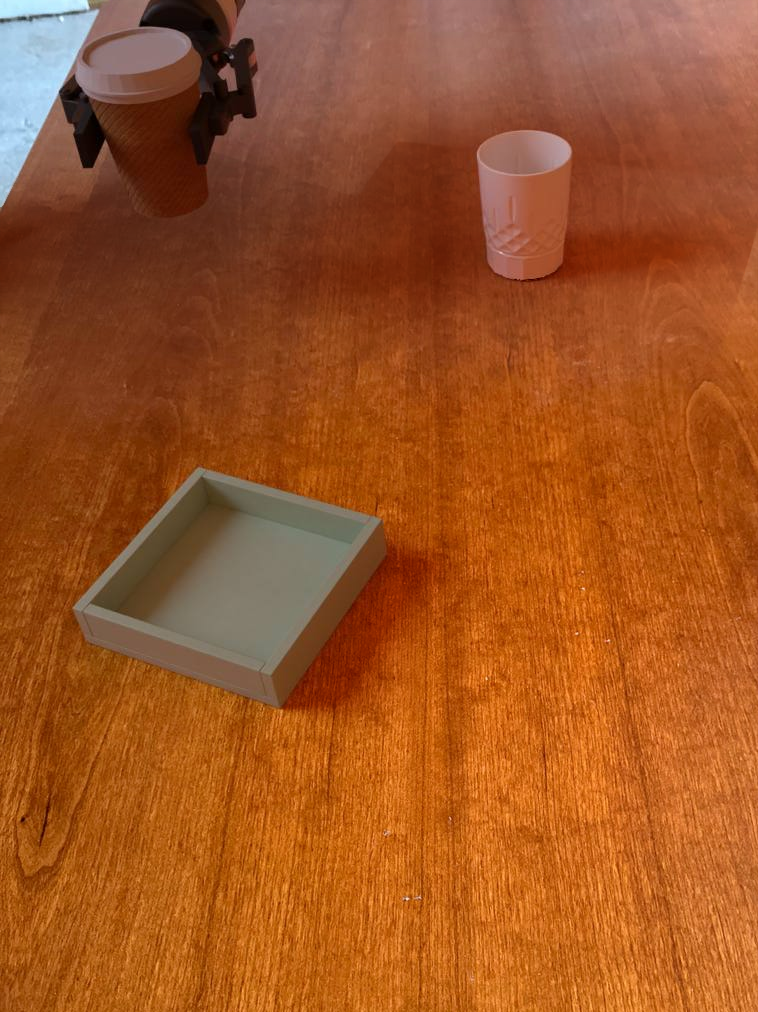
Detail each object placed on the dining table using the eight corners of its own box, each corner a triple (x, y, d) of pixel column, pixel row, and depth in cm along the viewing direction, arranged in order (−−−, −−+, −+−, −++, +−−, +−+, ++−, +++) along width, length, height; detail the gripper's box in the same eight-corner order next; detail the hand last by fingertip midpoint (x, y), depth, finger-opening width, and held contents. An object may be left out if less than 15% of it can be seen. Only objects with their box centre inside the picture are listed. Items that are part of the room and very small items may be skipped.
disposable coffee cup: (88, 210, 97) (43, 60, 88) (168, 161, 102) (133, 15, 93) (173, 241, 93) (135, 87, 84) (252, 189, 99) (224, 39, 90)
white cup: (470, 278, 103) (464, 169, 96) (495, 232, 108) (492, 125, 101) (557, 290, 102) (558, 180, 94) (579, 243, 107) (582, 134, 99)
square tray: (86, 642, 77) (71, 607, 74) (208, 501, 85) (198, 466, 83) (280, 709, 73) (271, 675, 70) (387, 553, 81) (382, 518, 79)
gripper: (311, 67, 107) (285, 191, 92) (83, 74, 108) (20, 200, 93) (299, -23, 102) (269, 95, 87) (58, -14, 102) (-13, 104, 87)
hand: (140, 149), depth 90 cm, fingers closed on disposable coffee cup, 8 cm apart
